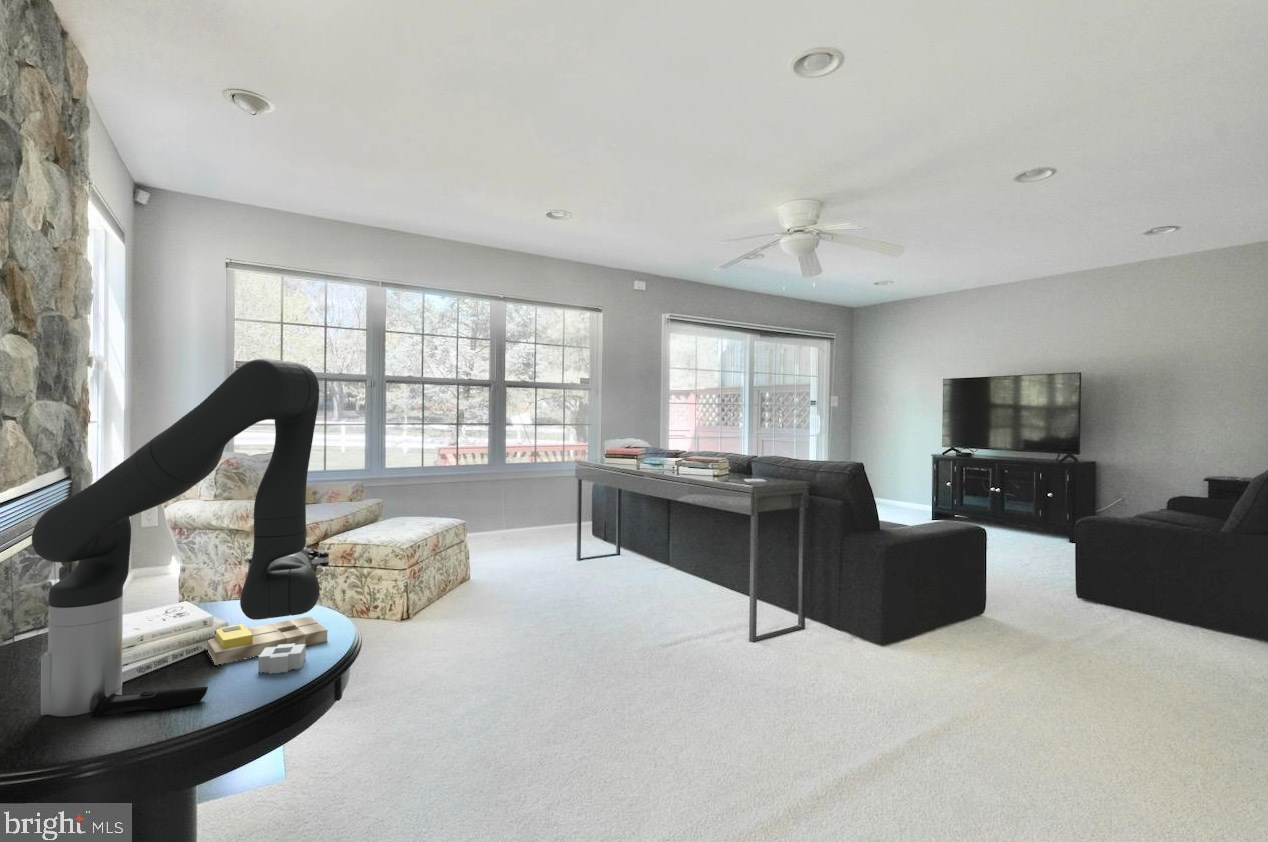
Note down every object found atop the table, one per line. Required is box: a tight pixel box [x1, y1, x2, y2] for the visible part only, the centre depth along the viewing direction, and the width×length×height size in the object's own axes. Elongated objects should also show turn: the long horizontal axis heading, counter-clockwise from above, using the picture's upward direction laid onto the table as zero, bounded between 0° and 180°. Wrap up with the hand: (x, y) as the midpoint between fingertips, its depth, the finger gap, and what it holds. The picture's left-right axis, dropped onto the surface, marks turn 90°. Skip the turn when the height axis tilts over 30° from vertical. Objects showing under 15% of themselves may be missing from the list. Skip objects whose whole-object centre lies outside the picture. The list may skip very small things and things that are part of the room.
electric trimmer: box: [90, 686, 209, 719], centre depth 102 cm, size 4×16×3 cm, turn 107°
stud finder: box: [215, 623, 253, 649], centre depth 127 cm, size 5×9×2 cm, turn 43°
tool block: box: [257, 643, 307, 675], centre depth 120 cm, size 7×7×3 cm
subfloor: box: [207, 616, 328, 666], centre depth 131 cm, size 20×12×3 cm, turn 133°
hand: (292, 552), depth 127 cm, fingers closed on awl, 4 cm apart
